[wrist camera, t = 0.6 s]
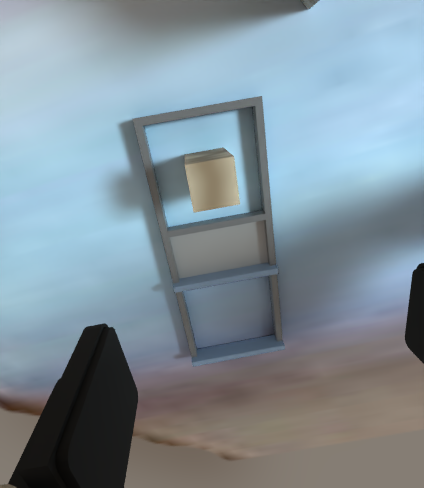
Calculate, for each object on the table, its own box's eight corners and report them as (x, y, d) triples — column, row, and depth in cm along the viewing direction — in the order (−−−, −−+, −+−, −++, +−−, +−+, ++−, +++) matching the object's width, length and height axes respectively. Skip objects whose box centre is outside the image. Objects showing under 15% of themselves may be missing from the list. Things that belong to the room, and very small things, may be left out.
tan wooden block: (223, 147, 34) (233, 156, 27) (228, 186, 36) (239, 204, 29) (184, 154, 34) (184, 165, 27) (191, 192, 36) (193, 212, 29)
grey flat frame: (258, 96, 32) (264, 95, 30) (279, 337, 46) (284, 349, 44) (134, 118, 32) (130, 119, 30) (192, 354, 46) (192, 366, 43)
